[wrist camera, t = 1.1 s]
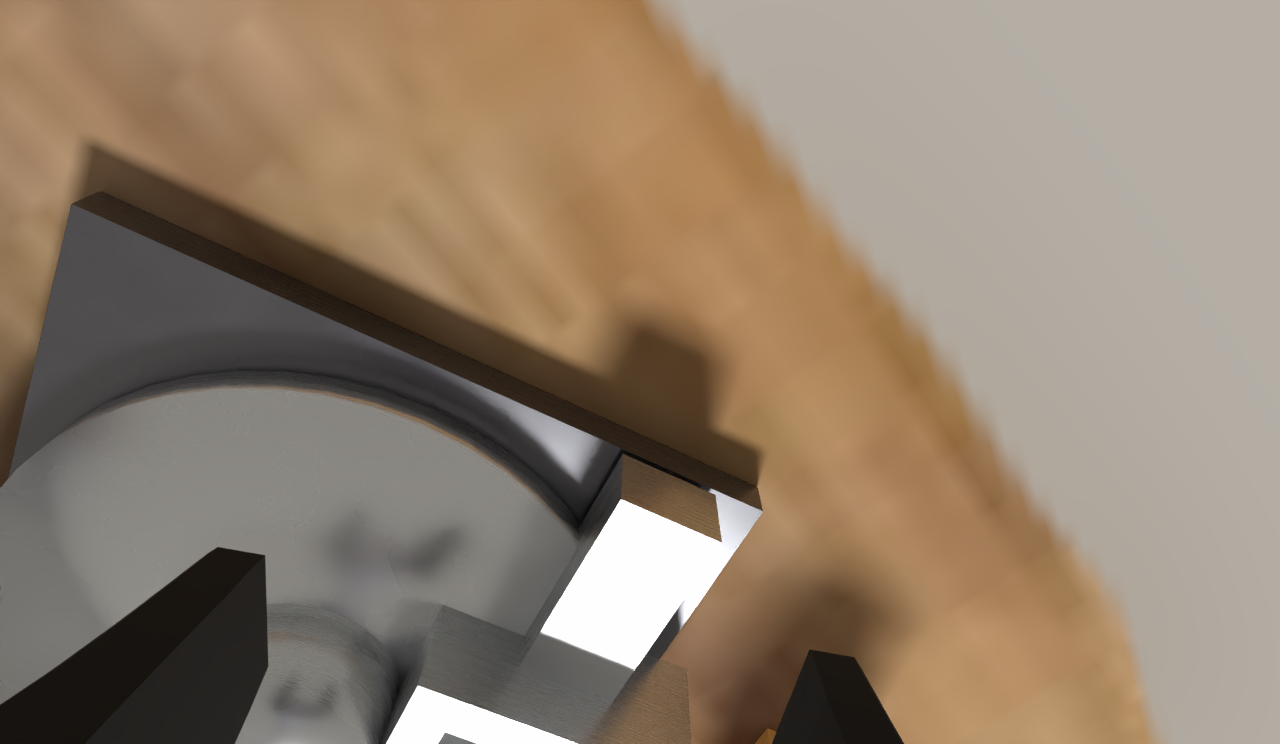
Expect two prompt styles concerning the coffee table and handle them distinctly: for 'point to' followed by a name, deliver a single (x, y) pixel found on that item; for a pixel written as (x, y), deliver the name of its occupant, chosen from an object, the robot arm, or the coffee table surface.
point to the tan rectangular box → (766, 737)
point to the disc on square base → (347, 506)
